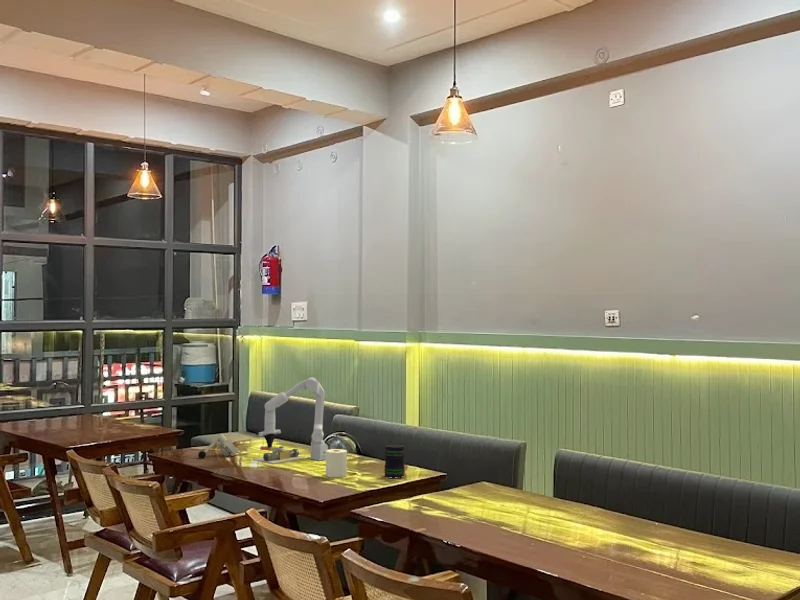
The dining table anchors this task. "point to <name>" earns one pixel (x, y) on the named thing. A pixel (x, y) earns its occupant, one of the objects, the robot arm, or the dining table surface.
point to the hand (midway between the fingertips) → (269, 448)
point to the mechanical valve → (224, 443)
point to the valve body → (281, 455)
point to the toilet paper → (336, 463)
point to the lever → (273, 448)
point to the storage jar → (394, 460)
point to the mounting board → (278, 460)
